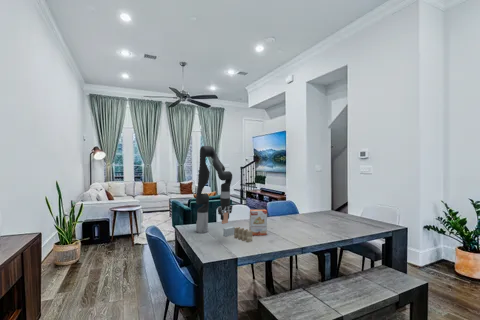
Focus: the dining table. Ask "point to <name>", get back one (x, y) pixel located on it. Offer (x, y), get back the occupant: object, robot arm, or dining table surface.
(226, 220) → the domino
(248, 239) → the domino
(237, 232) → the domino
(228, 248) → the dining table surface
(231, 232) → the end block
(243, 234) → the domino
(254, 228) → the cracker box
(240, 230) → the domino
